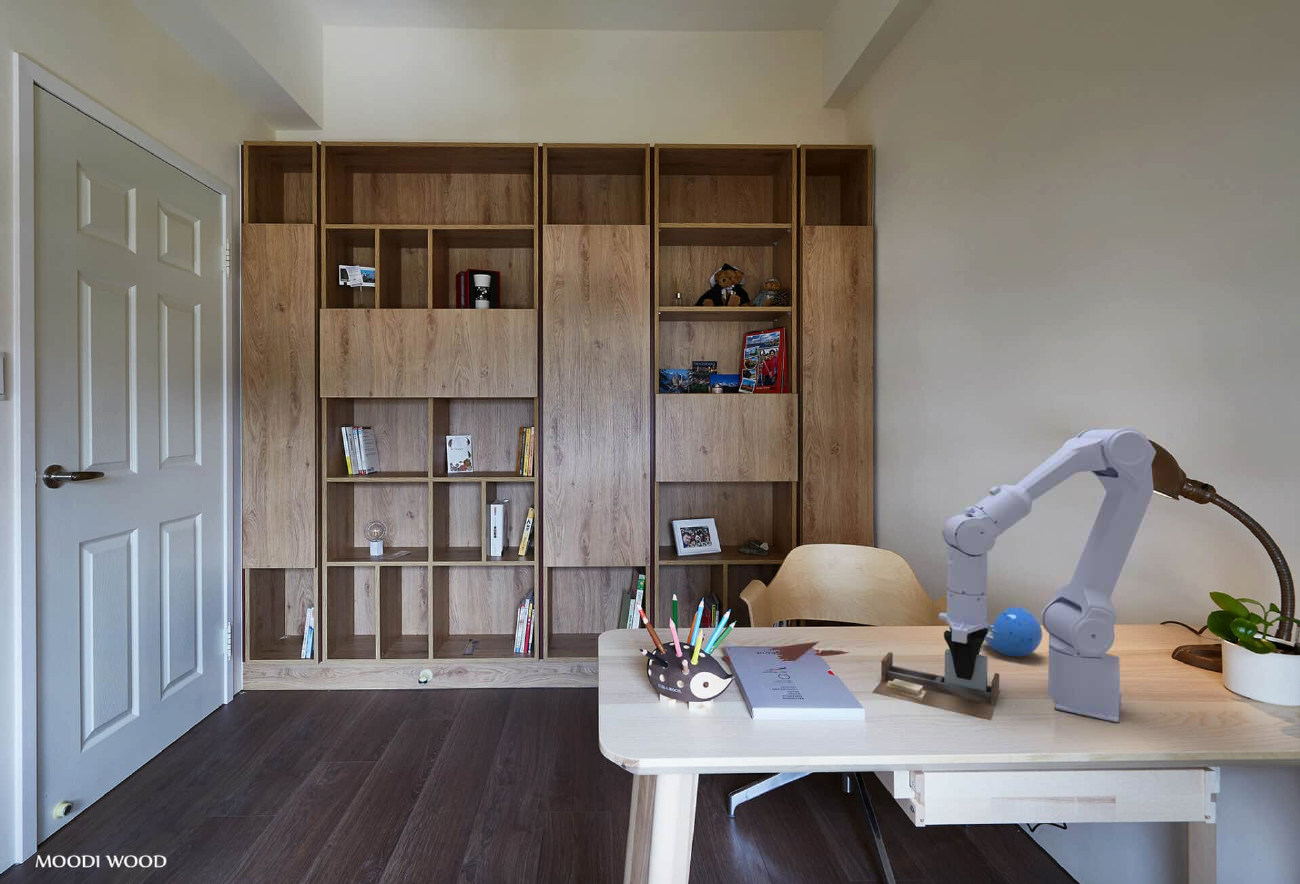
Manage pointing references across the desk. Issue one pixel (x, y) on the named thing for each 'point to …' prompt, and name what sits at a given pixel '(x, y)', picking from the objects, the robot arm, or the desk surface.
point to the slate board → (977, 679)
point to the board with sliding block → (941, 691)
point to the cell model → (1014, 633)
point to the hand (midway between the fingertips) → (965, 674)
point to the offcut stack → (905, 689)
